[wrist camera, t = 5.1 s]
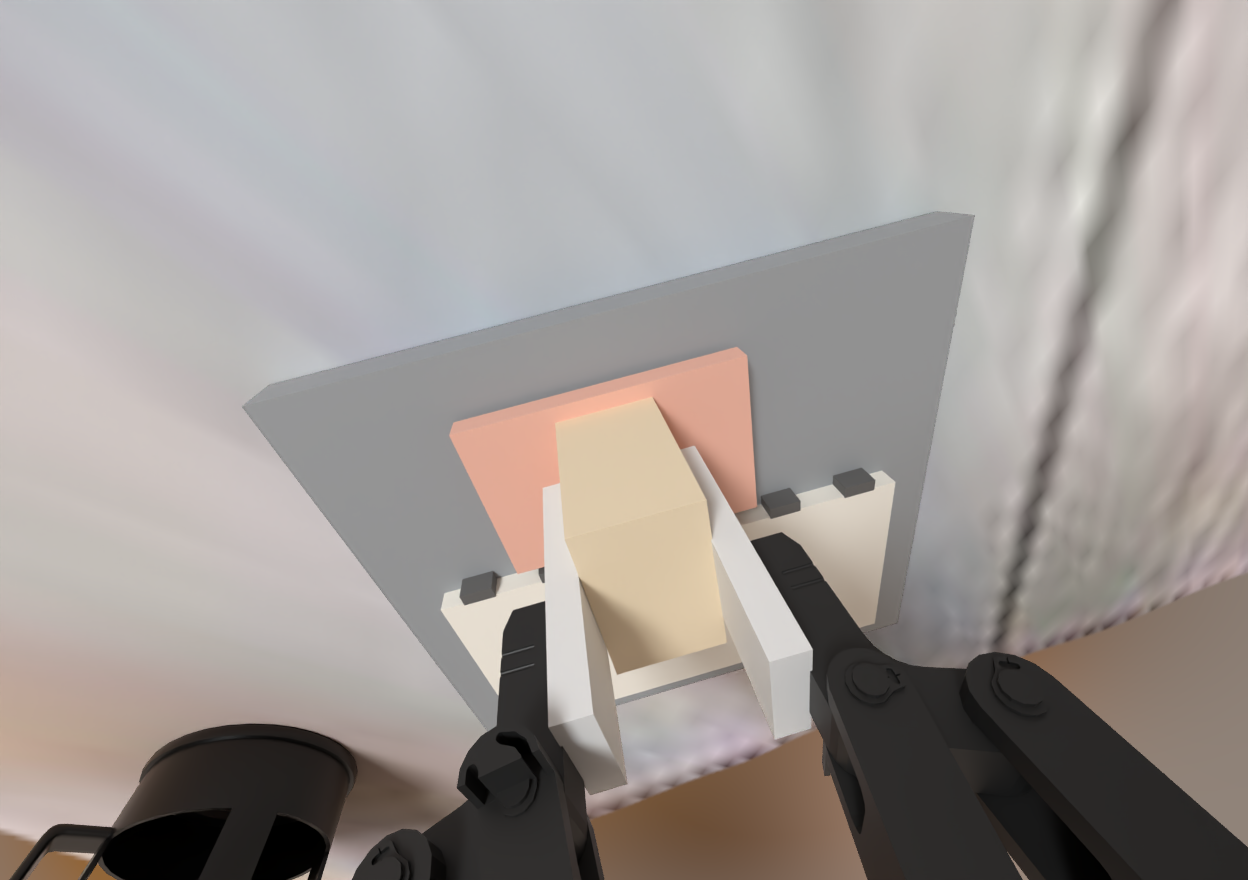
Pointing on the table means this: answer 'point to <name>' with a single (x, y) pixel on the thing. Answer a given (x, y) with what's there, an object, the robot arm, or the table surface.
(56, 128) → the table surface
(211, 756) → the french press
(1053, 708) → the robot arm
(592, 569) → the stub
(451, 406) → the board
